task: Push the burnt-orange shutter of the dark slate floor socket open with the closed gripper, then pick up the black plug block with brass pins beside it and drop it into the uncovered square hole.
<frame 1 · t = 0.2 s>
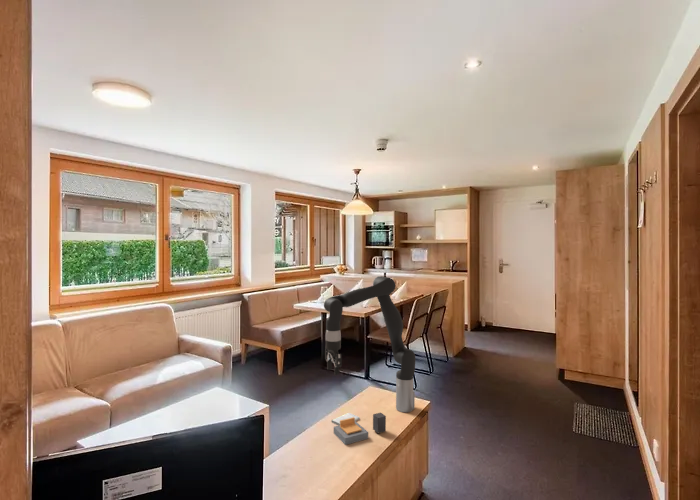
hand: (333, 371, 181), 27 cm above the table, tool pointing down, fingers open, 8 cm apart
socket: (350, 435, 173), on the table
plug: (379, 431, 177), on the table
shutter: (350, 425, 173), point 5 cm above the table, slide at 0.0 cm
hard drive: (345, 422, 188), on the table
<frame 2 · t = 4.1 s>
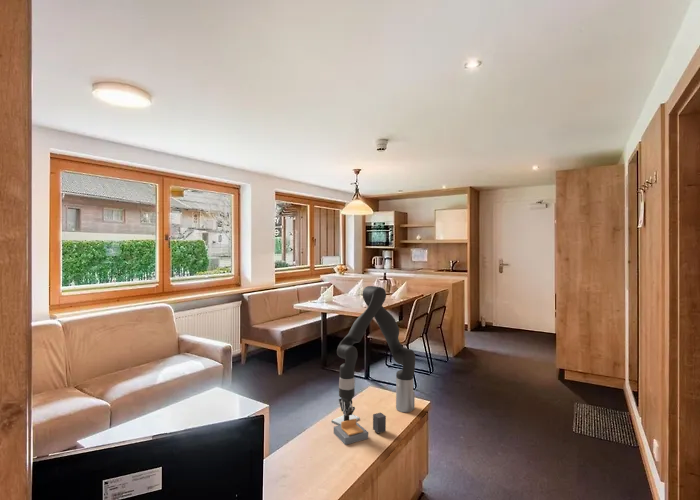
hand: (346, 422, 177), 5 cm above the table, tool pointing down, fingers closed
shutter: (352, 426, 172), point 5 cm above the table, slide at 1.5 cm, touching gripper
everything else where it was.
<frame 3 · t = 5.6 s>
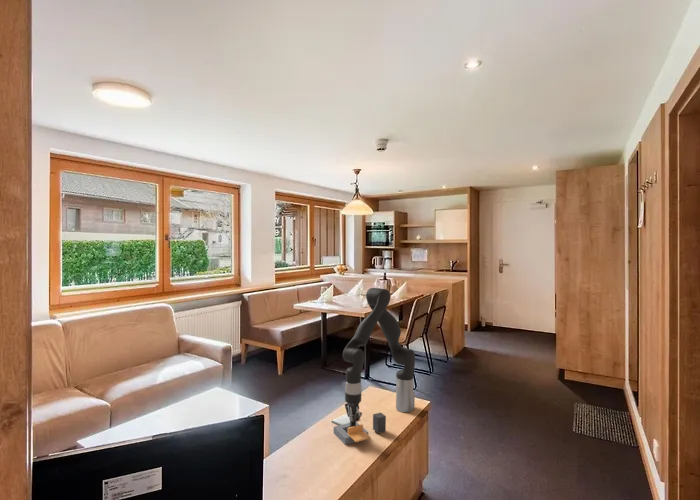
hand: (352, 428, 171), 5 cm above the table, tool pointing down, fingers closed
shutter: (359, 433, 166), point 5 cm above the table, slide at 7.9 cm, touching gripper
everything else where it was.
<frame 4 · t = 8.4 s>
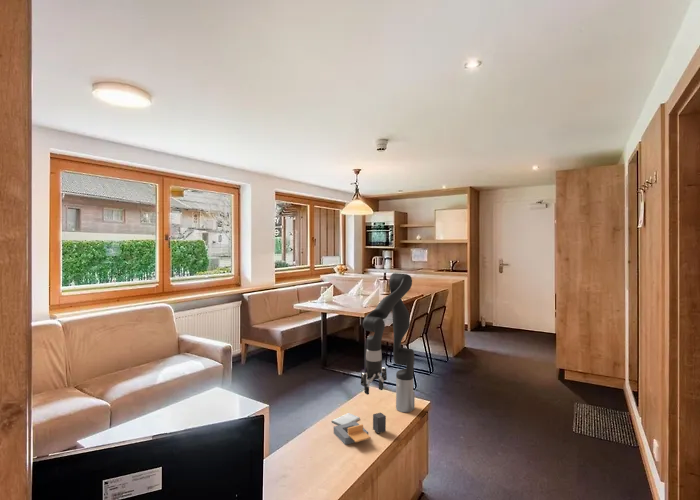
hand: (374, 391, 177), 19 cm above the table, tool pointing down, fingers open, 8 cm apart
shutter: (359, 433, 166), point 5 cm above the table, slide at 8.0 cm
everything else where it was.
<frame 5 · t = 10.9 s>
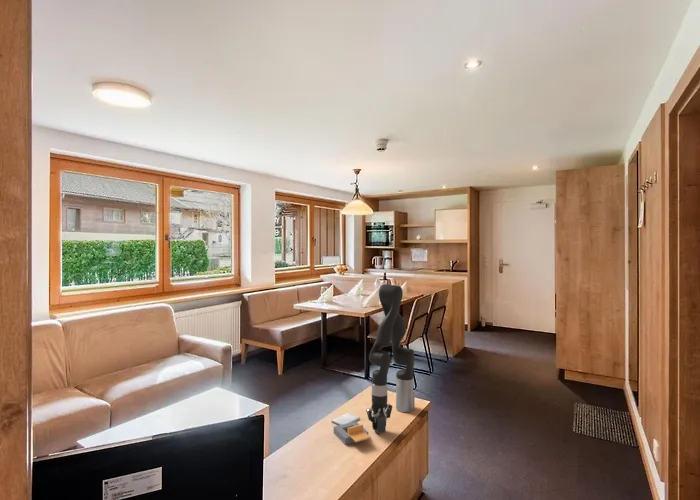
hand: (379, 428, 177), 2 cm above the table, tool pointing down, fingers closed on plug, 4 cm apart
plug: (379, 431, 177), on the table, touching gripper
everything else where it was.
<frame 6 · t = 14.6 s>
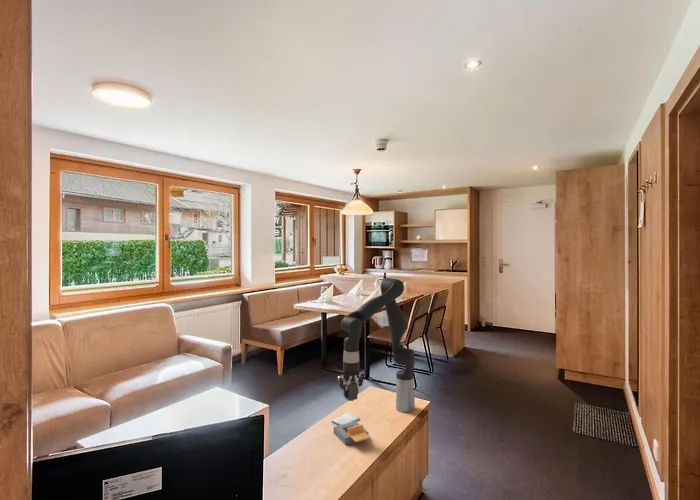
hand: (351, 396, 173), 19 cm above the table, tool pointing down, fingers closed on plug, 4 cm apart
plug: (350, 400, 173), point 17 cm above the table, touching gripper
everything else where it was.
when the fingers open (4 cm above the table, at t = 18.2 s): plug drops 2 cm, resting in socket.
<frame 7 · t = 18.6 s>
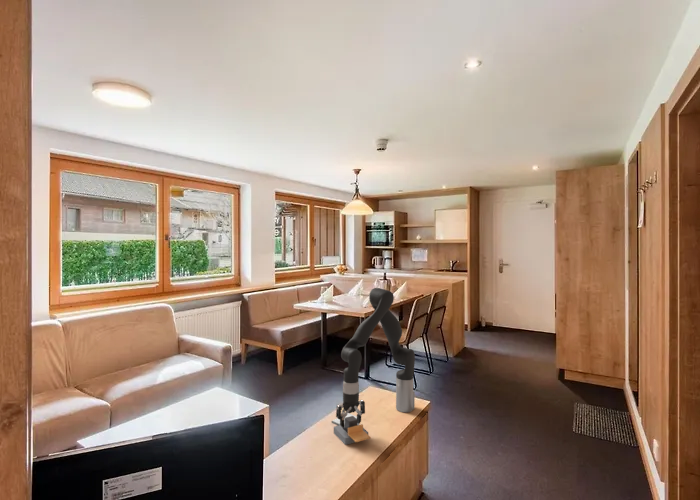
hand: (350, 424, 173), 5 cm above the table, tool pointing down, fingers open, 8 cm apart
plug: (350, 435, 173), resting in socket
everything else where it was.
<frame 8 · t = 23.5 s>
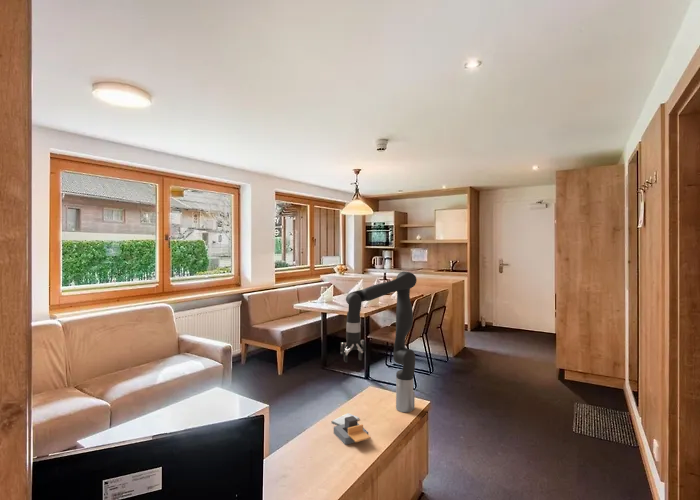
hand: (353, 360, 196), 28 cm above the table, tool pointing down, fingers open, 8 cm apart
nothing on the table moved.
at the end: shutter slide at 8.0 cm; plug 0.2 cm off-centre on the socket, point 0.0 cm above the socket's base; plug tilted 0° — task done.
